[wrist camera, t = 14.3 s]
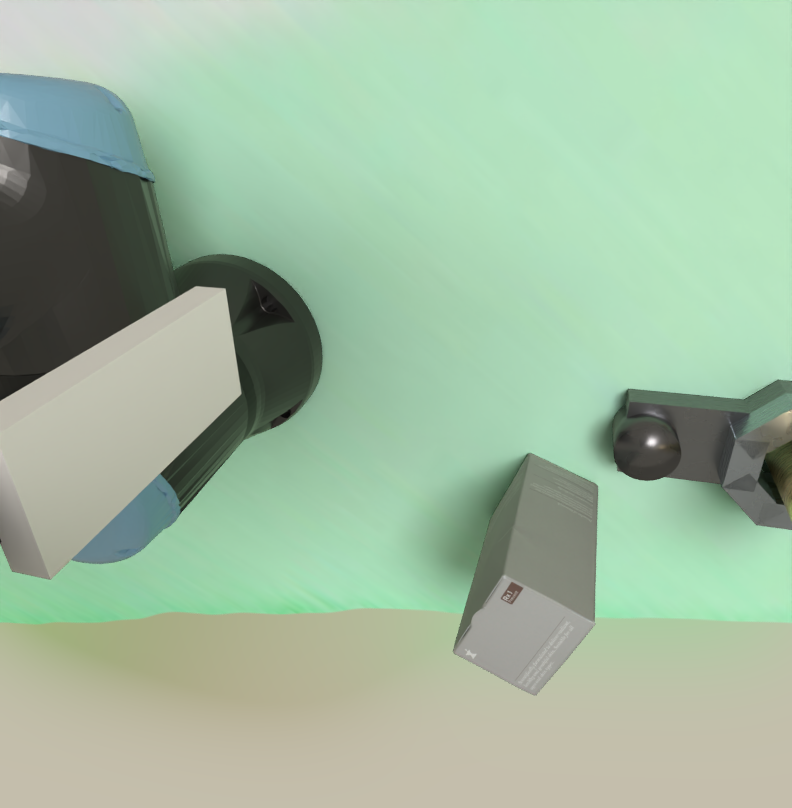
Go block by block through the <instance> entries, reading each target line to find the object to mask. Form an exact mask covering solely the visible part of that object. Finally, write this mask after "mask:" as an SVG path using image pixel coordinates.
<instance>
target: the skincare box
mask: <svg viewBox="0 0 792 808" xmlns="http://www.w3.org/2000/svg"><path fill="white" fill-rule="evenodd" d="M597 507H598V486H597V485H596V484H595V483H592V482H590V481H588V480H586V479H584V478H582V477H580V476H578V475H575V474H573V473H571V472H569V471H567V470H565V469H563V468H561V467H559V466H557V465H555V464H553V463H551V462H549V461H546V460H544V459H542V458H540V457H538V456H536V455H534V454H531V453H529V454H528V455H527V457H526V458H525V460H524V462H523V464H522V465H521V467H520V469H519V470H518V472H517V474H516V476H515V477H514V479H513V481H512V482H511V484H510V486H509V488H508V489H507V491H506V493H505V494H504V496H503V498H502V499H501V501H500V503H499V505H498V506H497V508H496V510H495V512H494V513H493V515H492V517H491V519H490V522H489V525H488V529H487V533H486V536H485V540H484V543H483V547H482V550H481V554H480V557H479V561H478V564H477V567H476V571H475V574H474V578H473V582H472V585H471V588H470V592H469V595H468V599H467V602H466V606H465V609H464V613H463V616H462V620H461V623H460V627H459V631H458V634H457V637H456V641H455V645H454V649H453V652H454V654H455V655H458V656H459V657H461V658H464V659H465V660H468V661H469V662H471V663H473V664H475V665H477V666H479V667H481V668H483V669H484V670H486V671H488V672H490V673H492V674H494V675H495V676H497V677H499V678H501V679H503V680H505V681H506V682H508V683H510V684H512V685H514V686H515V687H517V688H519V689H521V690H523V691H526V692H528V693H530V694H532V695H537V694H538V692H539V691H540V690H541V689H542V688H543V687H544V685H545V684H546V683H547V682H548V681H549V680H550V678H551V677H552V676H553V675H554V674H555V673H556V672H557V670H558V669H559V668H560V667H561V666H562V665H563V663H564V662H565V661H566V660H567V659H568V658H569V656H570V655H571V654H572V653H573V651H574V650H575V649H576V648H577V646H578V645H579V644H580V643H581V641H582V640H583V639H584V638H585V637H586V635H587V634H588V633H589V632H590V630H591V629H592V628H593V626H594V625H595V582H596V546H597Z"/></svg>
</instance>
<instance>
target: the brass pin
mask: <svg viewBox="0 0 792 808" xmlns="http://www.w3.org/2000/svg"><path fill="white" fill-rule="evenodd" d="M764 459H765V461H766V463H767V466H768V468H769V470H770V473H771V475H772V477H773V480H774V482H775V484H776V487H777V489H778V491H779V493H780V496H781V498H782V500H783V503H784V505H785V507H786V510H787V512H788V514H789V517H790V519H791V521H792V440H791V441H789V442H787V443H786V444H784V445H782V446H780V447H778V448H776V449H774V450H772V451H770V452H768V453H766V455H765V458H764Z"/></svg>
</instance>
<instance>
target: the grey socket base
mask: <svg viewBox="0 0 792 808" xmlns="http://www.w3.org/2000/svg"><path fill="white" fill-rule="evenodd" d="M612 431H613V447H614V459H615V462H616V464H617V471H621V472H623V473H625V474H626V475H628V476H630V477H632V478H634V479H638V480H645V481H649V480H657V479H660V478H663V477H669V478H677V479H685V480H693V481H701V482H709V483H717V484H721V485H722V488H723V489H724V490H725V491H726V492H727V493H728V494H729V495H730V496H731V498H732V499H733V500H734V501H735V502H736V503H737V504H738V505H739V506H740V507H741V509H742V510H743V511H744V512H745V513H746V514H747V515H748V516H749V517H750V518H751V520H752V521H753V522H754V523H755V524H756V525H760V526H767V527H775V528H782V529H789V530H792V521H791V519H790V517H789V514H788V512H787V510H786V507H785V505H784V503H783V500H782V498H781V496H780V493H779V491H778V489H777V487H776V484H775V482H774V480H773V477H772V475H771V473H770V472H764V471H763V470H762V469H761V468H762V465H763V461H764V458H765V455H766V453H768V452H770V451H772V450H774V449H776V448H778V447H780V446H782V445H784V444H786V443H787V442H789V441H791V440H792V381H785V380H777V381H776V382H774V383H772V384H770V385H769V386H767V387H765V388H763V389H762V390H760V391H758V392H757V393H755V394H753V395H751V396H750V397H748V398H746V399H744V400H742V399H731V398H721V397H710V396H699V395H689V394H678V393H667V392H657V391H646V390H635V389H628V393H627V399H626V404H625V406H624V407H622V408H621V409H620V410H619V411H618V412H617V413H616V415H615V417H614V419H613V423H612Z"/></svg>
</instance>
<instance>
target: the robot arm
mask: <svg viewBox="0 0 792 808" xmlns="http://www.w3.org/2000/svg"><path fill="white" fill-rule="evenodd" d="M154 182H155V177H154V175H153V173H152V172H151V171H150V170H149V169H148V166H147V163H146V160H145V157H144V154H143V150H142V147H141V143H140V140H139V137H138V133H137V130H136V126H135V123H134V120H133V117H132V114H131V113H130V111H129V109H128V108H127V106H126V105H125V103H124V102H123V101H122V100H121V99H120V98H119V97H118V96H117V95H115V94H114V93H113V92H111V91H109V90H107V89H106V88H104V87H101V86H99V85H96V84H92V83H88V82H82V81H75V80H68V79H61V78H52V77H43V76H32V75H22V74H9V73H0V544H1V546H2V549H3V551H4V554H5V556H6V558H7V561H8V563H9V566H10V568H11V570H12V572H17V573H22V574H26V575H31V576H36V577H40V578H45V579H50V580H51V579H52V578H53V577H54V576H55V575H56V574H57V573H58V572H59V571H60V570H61V569H62V568H63V567H64V566H65V565H66V564H67V563H68V562H69V561H70V560H73V561H77V562H83V563H93V564H103V563H112V562H117V561H121V560H124V559H127V558H129V557H131V556H133V555H135V554H136V553H138V552H140V551H141V550H142V549H144V548H145V547H146V546H147V545H148V544H149V543H150V542H151V541H152V540H153V539H154V538H155V537H156V536H157V535H158V534H159V533H160V532H161V531H162V530H163V529H165V528H167V527H169V526H171V525H172V523H174V522H175V521H176V519H177V518H178V516H179V515H180V514H181V512H182V511H183V510H184V509H185V508H186V507H187V505H188V504H189V503H190V502H191V501H192V500H193V498H194V497H195V496H196V495H197V494H198V493H199V491H200V490H201V489H202V488H203V487H204V486H205V484H206V483H207V482H208V481H209V480H210V479H211V477H212V476H213V475H214V474H215V473H216V472H217V470H218V469H219V468H220V467H221V466H222V465H223V463H224V462H225V461H226V460H227V459H228V458H229V456H230V455H231V454H232V453H233V452H234V451H235V449H236V448H237V447H238V446H239V445H240V444H241V443H242V442H243V440H245V439H248V438H250V437H252V436H255V435H257V434H260V433H262V432H264V431H267V430H269V429H272V428H274V427H277V426H279V425H281V424H283V423H284V422H286V421H287V420H289V419H290V418H291V417H292V416H294V415H295V414H296V413H297V412H298V411H299V410H300V409H301V407H302V406H303V405H304V404H305V403H306V401H307V400H308V399H309V398H310V396H311V395H312V393H313V392H314V390H315V388H316V386H317V384H318V381H319V378H320V374H321V369H322V345H321V340H320V335H319V332H318V329H317V326H316V323H315V321H314V319H313V317H312V315H311V313H310V311H309V309H308V307H307V306H306V304H305V303H304V301H303V300H302V298H301V297H300V296H299V295H298V293H297V292H296V291H295V290H294V289H293V288H292V287H291V286H290V285H289V284H288V283H287V282H286V281H285V280H284V279H283V278H281V277H280V276H279V275H277V274H276V273H275V272H273V271H272V270H270V269H269V268H267V267H265V266H263V265H261V264H259V263H257V262H255V261H252V260H250V259H247V258H243V257H239V256H234V255H226V254H217V255H208V256H204V257H200V258H197V259H195V260H193V261H190V262H188V263H187V264H185V265H183V266H181V267H179V268H177V269H175V270H174V271H173V267H172V262H171V258H170V254H169V250H168V245H167V241H166V237H165V233H164V228H163V224H162V220H161V216H160V211H159V207H158V203H157V199H156V194H155V190H154V186H153V183H154Z"/></svg>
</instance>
